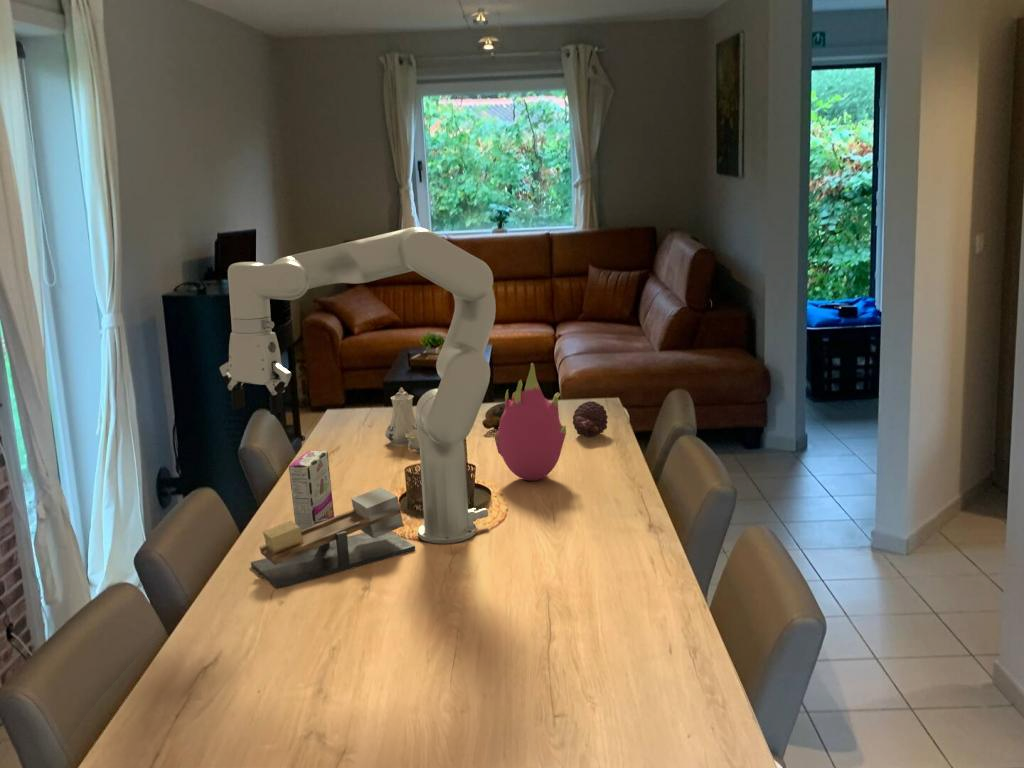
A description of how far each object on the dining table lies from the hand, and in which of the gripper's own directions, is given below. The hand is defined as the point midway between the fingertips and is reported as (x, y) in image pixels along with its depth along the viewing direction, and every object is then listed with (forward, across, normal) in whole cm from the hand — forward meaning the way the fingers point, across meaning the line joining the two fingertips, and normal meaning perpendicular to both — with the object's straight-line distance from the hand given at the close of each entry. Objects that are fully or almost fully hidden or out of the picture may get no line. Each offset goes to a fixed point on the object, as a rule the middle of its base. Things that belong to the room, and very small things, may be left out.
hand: (257, 410), depth 201 cm
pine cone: (+29, -27, -106) cm, 113 cm away
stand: (+31, -13, -5) cm, 34 cm away
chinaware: (+31, +17, -83) cm, 90 cm away
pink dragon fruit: (+30, -29, -65) cm, 77 cm away
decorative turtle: (+30, 0, -104) cm, 109 cm away
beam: (+28, -13, -5) cm, 32 cm away
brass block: (+26, -8, +4) cm, 28 cm away
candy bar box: (+31, +2, -18) cm, 36 cm away
